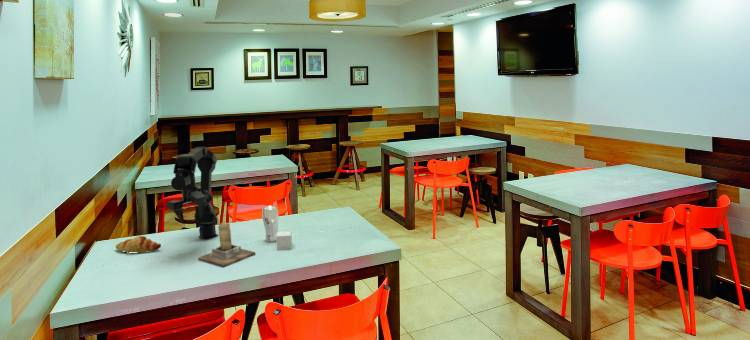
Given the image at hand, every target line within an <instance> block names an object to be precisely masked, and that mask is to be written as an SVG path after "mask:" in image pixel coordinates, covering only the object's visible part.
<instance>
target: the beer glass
mask: <svg viewBox="0 0 750 340" xmlns="http://www.w3.org/2000/svg"><path fill="white" fill-rule="evenodd" d="M261 212H262V215H261V216H262V223H263V227H264V230H265V242H266V243H267V242H269V243H272V242H277V240H276V235H277V232H279V231H278V230H279V229H278V228H279V226H278V225H279V211H278V206H277V205H267V206H263V207H262V211H261Z"/></svg>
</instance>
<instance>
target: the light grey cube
mask: <svg viewBox="0 0 750 340" xmlns="http://www.w3.org/2000/svg"><path fill="white" fill-rule="evenodd" d="M292 237H293V236H292V230H290V231H278V232H277V235H276V240H277V241H276V250H279V251H281V250H289V249H290V250H292V248H293V240H292Z"/></svg>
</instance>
